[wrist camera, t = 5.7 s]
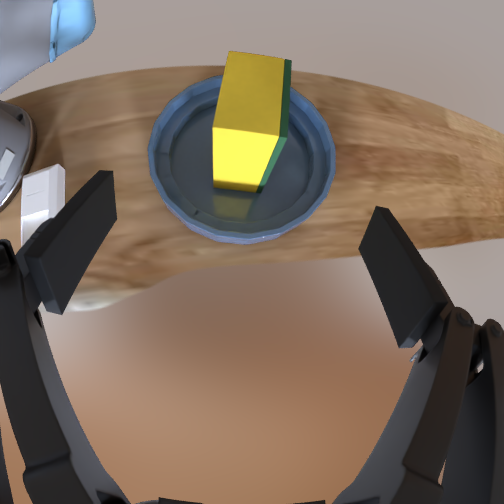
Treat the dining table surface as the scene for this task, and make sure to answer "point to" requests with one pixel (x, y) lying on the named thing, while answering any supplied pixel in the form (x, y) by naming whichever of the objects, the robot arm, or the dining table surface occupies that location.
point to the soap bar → (41, 198)
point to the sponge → (250, 120)
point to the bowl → (233, 201)
